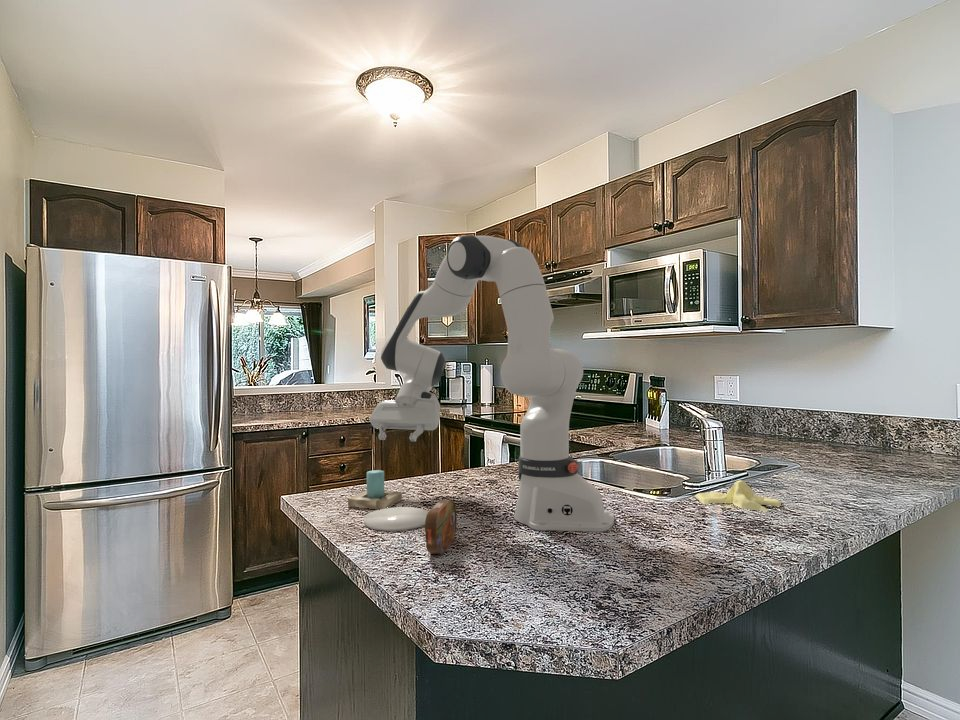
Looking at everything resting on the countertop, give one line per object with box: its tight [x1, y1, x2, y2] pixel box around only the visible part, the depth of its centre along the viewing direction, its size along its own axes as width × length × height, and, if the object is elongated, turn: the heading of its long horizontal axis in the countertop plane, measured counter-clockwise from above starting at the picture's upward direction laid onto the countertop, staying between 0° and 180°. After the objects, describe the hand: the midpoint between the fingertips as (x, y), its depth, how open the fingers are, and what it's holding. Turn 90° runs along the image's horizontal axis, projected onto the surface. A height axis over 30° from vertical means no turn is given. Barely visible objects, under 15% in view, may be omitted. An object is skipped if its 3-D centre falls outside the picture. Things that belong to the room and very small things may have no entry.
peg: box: [366, 469, 385, 499], centre depth 141 cm, size 4×4×8 cm
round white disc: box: [363, 506, 429, 532], centre depth 126 cm, size 15×15×1 cm
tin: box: [424, 498, 458, 555], centre depth 109 cm, size 15×3×8 cm, turn 168°
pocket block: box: [347, 489, 403, 510], centre depth 141 cm, size 10×10×2 cm
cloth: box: [694, 479, 782, 511], centre depth 138 cm, size 22×19×6 cm
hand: (396, 439), depth 153 cm, fingers open, 8 cm apart
